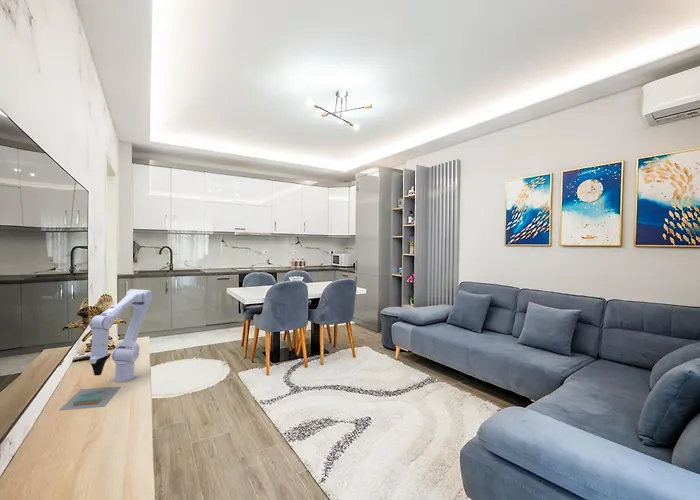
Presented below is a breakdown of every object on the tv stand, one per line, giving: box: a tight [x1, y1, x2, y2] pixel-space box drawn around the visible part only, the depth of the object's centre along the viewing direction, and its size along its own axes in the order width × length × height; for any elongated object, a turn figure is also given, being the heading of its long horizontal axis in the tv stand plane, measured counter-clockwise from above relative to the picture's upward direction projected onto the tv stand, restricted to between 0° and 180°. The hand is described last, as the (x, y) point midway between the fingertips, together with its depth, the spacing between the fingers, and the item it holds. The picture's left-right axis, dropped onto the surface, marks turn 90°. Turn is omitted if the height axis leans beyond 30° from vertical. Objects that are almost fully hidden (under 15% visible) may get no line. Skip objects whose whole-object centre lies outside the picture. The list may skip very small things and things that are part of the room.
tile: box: [73, 393, 104, 406], centre depth 134 cm, size 2×8×7 cm
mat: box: [58, 386, 121, 411], centre depth 137 cm, size 20×15×1 cm
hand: (97, 374), depth 141 cm, fingers closed
